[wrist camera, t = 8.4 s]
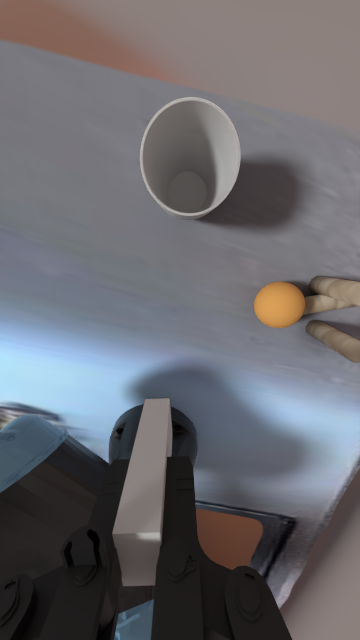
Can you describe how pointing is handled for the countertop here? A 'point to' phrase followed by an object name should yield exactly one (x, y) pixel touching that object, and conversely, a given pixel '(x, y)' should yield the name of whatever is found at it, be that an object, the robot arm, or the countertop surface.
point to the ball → (279, 304)
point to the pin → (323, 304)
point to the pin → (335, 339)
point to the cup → (190, 157)
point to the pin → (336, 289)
